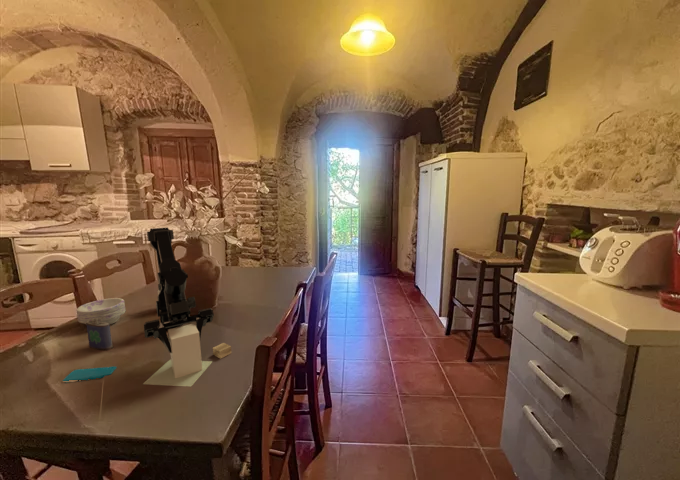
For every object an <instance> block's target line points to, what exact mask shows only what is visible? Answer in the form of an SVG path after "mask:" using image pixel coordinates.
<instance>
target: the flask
mask: <svg viewBox="0 0 680 480" xmlns="http://www.w3.org/2000/svg"><path fill="white" fill-rule="evenodd" d="M99 319H100V318H94V319H92V320H91V321H87V322H86V324H85V325H86V330H87V331H86V332H87V338H88V339H87V340H88V348H90V349H93V350H98V351H99V350H100V351H108V350H109V351H110V350H111V349H113V345H114V344H113V340H112V334H111V328H110V325H111V324H110V323H104V322H99V321H100V320H99Z"/></svg>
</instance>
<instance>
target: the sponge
mask: <svg viewBox="0 0 680 480" xmlns="http://www.w3.org/2000/svg"><path fill="white" fill-rule="evenodd" d="M115 370H117V366H116V365H115V366H114V365H113V366H109V367H108V366H106V367H105V366H103V367H93V368H92V367H91V368H80V369H79V368H78V369H74V370H72V371H71V372H69V374H67V375H66V376H65V377H64V378H63V379H62V381H69V380H86V381H89V380H88V379H91V380H97V379H96V378H100V379H103V378H106V377H107V376H111V375H112V374H113V372H115ZM105 376H106V377H105Z"/></svg>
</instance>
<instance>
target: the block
mask: <svg viewBox="0 0 680 480" xmlns="http://www.w3.org/2000/svg"><path fill="white" fill-rule="evenodd" d="M231 354H232V346H231V345H230V344H228V343H225V342H222V343H220V344H218V345H216V346H213V347H212V355H213V356H215V357H217V358H218V359H220V360H221V359H223V358H225V357H227V356H229V355H231Z"/></svg>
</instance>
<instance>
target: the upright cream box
mask: <svg viewBox="0 0 680 480" xmlns="http://www.w3.org/2000/svg"><path fill="white" fill-rule="evenodd" d="M167 337H168V340H169V343H170V346H171V353H169V354H170V360H171V364H172V369H173V373H174V376H175V379H176V378H179V377H182V376H185V375H188V374H191V373H194V372H197V371H200V370H202V361H203V360H202V351H201V349H202V348H201V338H200V337H199V331H198V329H197V328H196V323H191V324H190V323H189V324H184V325H181V326H180V327H177V328H173V329H169V330H168V331H167Z"/></svg>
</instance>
